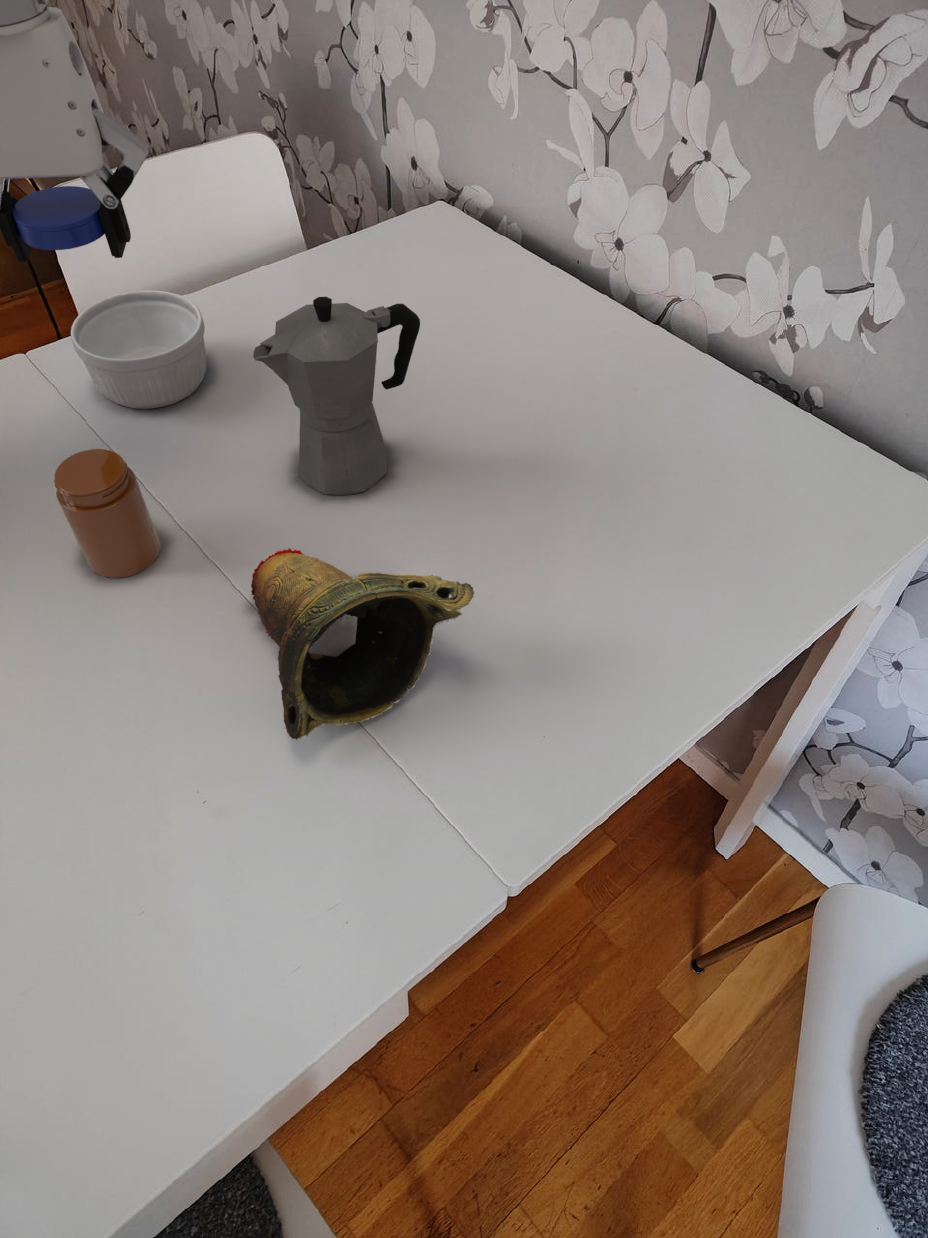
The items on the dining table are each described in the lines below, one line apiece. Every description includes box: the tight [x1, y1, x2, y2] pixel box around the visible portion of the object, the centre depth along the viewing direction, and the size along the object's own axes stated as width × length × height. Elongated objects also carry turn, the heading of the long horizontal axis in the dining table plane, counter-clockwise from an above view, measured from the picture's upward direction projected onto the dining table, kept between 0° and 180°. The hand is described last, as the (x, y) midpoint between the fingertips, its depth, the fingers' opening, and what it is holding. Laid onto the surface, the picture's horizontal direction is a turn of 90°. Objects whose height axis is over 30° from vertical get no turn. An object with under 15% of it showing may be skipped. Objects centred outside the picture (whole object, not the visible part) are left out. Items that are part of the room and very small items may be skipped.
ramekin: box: [70, 289, 207, 410], centre depth 92 cm, size 13×13×7 cm
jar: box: [53, 448, 161, 579], centre depth 75 cm, size 6×6×10 cm
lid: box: [12, 185, 105, 251], centre depth 69 cm, size 7×7×2 cm
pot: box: [250, 547, 475, 741], centre depth 68 cm, size 17×11×18 cm
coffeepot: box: [252, 296, 421, 496], centre depth 79 cm, size 15×9×18 cm, turn 118°
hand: (73, 249), depth 72 cm, fingers closed on lid, 6 cm apart
